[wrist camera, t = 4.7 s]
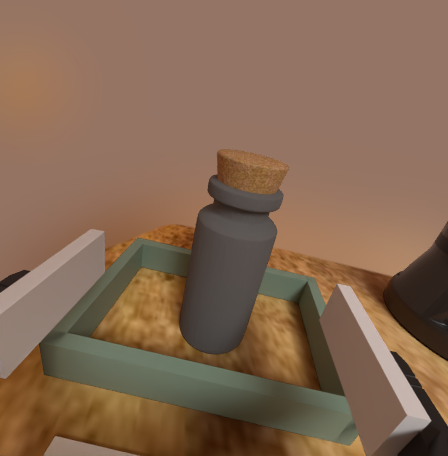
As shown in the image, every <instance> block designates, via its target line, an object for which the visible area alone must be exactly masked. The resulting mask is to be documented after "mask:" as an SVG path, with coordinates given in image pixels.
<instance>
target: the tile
mask: <svg viewBox="0 0 448 456" xmlns="http://www.w3.org/2000/svg"><path fill="white" fill-rule="evenodd" d="M43 456H138V455H134V454H130V453H126V452H121V451H117V450H113V449H109V448H104V447H100V446H96V445H92V444H87V443H83V442H79V441H74V440H70V439H66V438H62V437H57V436H55V437H54V439H53V440H52V442H51V444H50V445H49V447H48V449H47V450H46V452H45V453H44V455H43Z"/></svg>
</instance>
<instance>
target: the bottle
mask: <svg viewBox="0 0 448 456" xmlns="http://www.w3.org/2000/svg"><path fill="white" fill-rule="evenodd" d="M217 169H218V170H217V171H218V175H213V176H212V177H211V178H210V179H209V183H208V193H209V194H210V196H211V197H213V198H214V203H213V204H210V205H207V206H206V207H204V208H203V209H201V210H200V212H199V214H198V217H197V223H196V228H195V233H194V239H193V244H192V250H191V256H190V262H189V268H188V274H187V280H186V286H185V292H184V298H183V304H182V310H181V317H180V329H181V333H182V335H183V337H184V339H185V340H186V341H187V342H188V343H189V344H190V345H191V346H192V347H194V348H195V349H197V350H199V351H202V352H205V353H209V354H223V353H227V352H229V351H231V350H233V349H234V348H236V347H237V346H238V345H239V344H240V342H241V341H242V338H243V336H244V333H245V331H246V328H247V325H248V322H249V319H250V316H251V313H252V310H253V307H254V304H255V301H256V298H257V295H258V292H259V289H260V286H261V283H262V280H263V276H264V273H265V270H266V267H267V264H268V261H269V258H270V255H271V252H272V248H273V245H274V242H275V238H276V235H277V228H276V226H275V224H274V222H273V221H272V220H271V219H270V218H269V217H268V216H269V212H273V211H276V210H278V209H279V208H280V206H281V203H282V200H283V193H282V192H281V191H280V190H279V189H278V188H279V187H280V185H281V183H282V181H283V179H284V177H285V176H286V174H287V172H288V170H289V166H288V165H286V164H284V163H283V162H280V161H278V160H275V159H272V158H269V157H265V156H262V155H258V154H254V153H249V152H244V151H238V150H229V149H222V150H219V151H218V152H217Z"/></svg>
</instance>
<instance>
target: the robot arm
mask: <svg viewBox="0 0 448 456" xmlns="http://www.w3.org/2000/svg"><path fill="white" fill-rule="evenodd" d="M104 273H105V232H104V231H100V230H95V229H90V230H89V231H87V232H86V233H84V234H83V235H82V236H80V237H79V238H77V239H76V240H75V241H73V242H72V243H70V244H69V245H67V246H66V247H65V248H63V249H62V250H60V251H59V252H58V253H56V254H55V255H53V256H52V257H50V258H49V259H48V260H46V261H45V262H43V263H42V264H41V265H39V266H38V267H37V268H35V269H33V270H32V271H27V270H23V271H20V272H18V273H15V274H12V275H10V276H8V277H7V278H5V279H4V280H2V281H1V282H0V378H4V379H6V378H7V377H8V376H9V375H10V374H11V373H12V372H13V371H14V370H15V369H16V368H17V366H18V365H19V364H20V363H21V362H22V361H23V360H24V359H25V358H26V357H27V356H28V355H29V354H30V352H31V351H32V350H33V349H34V348H35V347H36V346H37V345H38V344H39V343H40V342H41V341H42V340H43V338H44V337H45V336H46V335H47V334H48V333H49V332H50V331H51V330H52V329H53V328H54V327H55V326H56V325H57V323H58V322H59V321H60V320H61V319H62V318H63V317H64V316H65V315H66V314H67V313H68V312H69V311H70V309H71V308H72V307H73V306H74V305H75V304H76V303H77V302H78V301H79V300H80V299H81V298H82V297H83V295H84V294H85V293H86V292H87V291H88V290H89V289H90V288H91V287H92V286H93V285H94V284H95V283H96V281H97V280H98V279H99V278H100V277H101V276H102V275H103V274H104ZM383 296H384V300H385V303H386V305H387V307H388V308H389V310H390V311H391V313H392V314H393V315H394V316H395V318H396V319H397V320H398V321H399V322H400V323H401V324H402V325H403V326H404V327H405V328H406V329H407V330H408V331H409V332H410V333H412V334H413V335H414V336H415V337H416V338H418V339H419V340H420V341H421V342H423V343H424V344H425V345H427V346H428V347H429V348H431V349H432V350H434V351H435V352H436V353H438V354H439V355H441V356H443V357H444V358H446V359H447V360H448V222H447V223H446V225H445V226H444V228H443V229H442V231H441V233H440V234H439V236H438V237H437V239H436V240H435V242H434V243H433V245H432V246H431V247H430V249H428V250H427V251H426V252H425V253H424V254H422V255H421V256H420V257H419V258H417V259H416V260H415V261H414V262H413V263H411V264H410V265H409V266H408V267H407V268H406V269H405V270H404V271H401V272H399V273H397V274H396V275H394V276H393V277H392V279H391V280H390V282H389V283H388V285H387V287H386V288H385V290H384V293H383ZM319 321H320V324H321V327H322V330H323V333H324V336H325V338H326V341H327V344H328V347H329V350H330V353H331V356H332V359H333V361H334V364H335V367H336V370H337V373H338V376H339V379H340V382H341V385H342V387H343V390H344V393H345V396H346V399H347V402H348V405H349V408H350V410H351V413H352V416H353V419H354V422H355V425H356V428H357V431H358V433H359V436H360V439H361V442H362V445H363V448H364V451H365V454H366V456H448V426H447V424H446V423H445V421H444V420H443V418H442V417H441V415H440V414H439V412H438V411H437V409H436V407H435V406H434V404H433V403H432V401H431V400H430V398H429V397H428V395H427V393H426V392H425V390H424V389H422V386H421V384H420V383H419V381H418V379H416V378H415V375H414V373H413V372H412V370H411V369H410V367H409V366H408V364H407V363H406V362H405V361H404V360H403V359H402V358H401V357H400V356H399V355H398V354H397V353H396V352H393V351H389V349H388V348H387V346H386V344H385V343H384V341H383V339H382V338H381V336H380V335H379V333H378V331H377V330H376V328H375V326H374V325H373V323H372V321H371V320H370V318H369V316H368V315H367V313H366V311H365V310H364V308H363V306H362V305H361V303H360V301H359V300H358V298H357V296H356V295H355V293H354V291H353V290H352V288H351V286H346V285H342V284H336V287H335V289H334V291H333V293H332V295H331V297H330V299H329V301H328V303H327V305H326V307H325V309H324V311H323V313H322V315H321V317H320V319H319Z"/></svg>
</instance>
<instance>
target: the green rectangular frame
mask: <svg viewBox="0 0 448 456" xmlns="http://www.w3.org/2000/svg"><path fill="white" fill-rule="evenodd" d="M190 256H191V250H190V249H186V248H181V247H177V246H172V245H168V244H164V243H159V242H155V241H151V240H146V239H142V238H137V239H136V240H135V241H134V242H133V243H132V244H131V245H130V246H129V247H128V248H127V249H126V250H125V252H124V253H123V254H122V255H121V256H120V257H119V258H118V259H117V260H116V261H115V262H114V263H113V264H112V265H111V266H110V267H109V268H108V270H107V271H106V272H105V273H104V274H103V275H102V276H101V277H100V278H99V279H98V280H97V281H96V283H95V284H94V285H93V286H92V287H91V288H90V289H89V290H88V291H87V292H86V293H85V294H84V295H83V297H82V298H81V299H80V300H79V301H78V302H77V303H76V304H75V305H74V306H73V307H72V308H71V309H70V311H69V312H68V313H67V314H66V315H65V316H64V317H63V318H62V319H61V320H60V321H59V322H58V323H57V325H56V326H55V327H54V328H53V329H52V330H51V331H50V332H49V333H48V334H47V335H46V336H45V337H44V338H43V340H42V341H41V342H40V343H39V346H40V352H41V358H42V364H43V371H44V375H48V376H52V377H56V378H61V379H65V380H69V381H74V382H78V383H82V384H87V385H91V386H95V387H99V388H104V389H108V390H112V391H117V392H121V393H125V394H130V395H134V396H138V397H142V398H147V399H151V400H155V401H160V402H164V403H168V404H173V405H177V406H181V407H186V408H190V409H194V410H198V411H203V412H207V413H211V414H216V415H220V416H224V417H229V418H233V419H237V420H241V421H246V422H250V423H254V424H259V425H263V426H267V427H272V428H276V429H280V430H284V431H289V432H293V433H297V434H302V435H306V436H310V437H315V438H319V439H323V440H327V441H332V442H336V443H340V444H345V445H349V446H350V445H351V444H352V443H353V441H354V440H355V439H356V437H357V436H358V435H359V433H358V431H357V428H356V425H355V422H354V419H353V416H352V413H351V410H350V408H349V405H348V402H347V399H346V396H345V393H344V390H343V387H342V385H341V382H340V379H339V376H338V373H337V370H336V367H335V364H334V361H333V359H332V356H331V353H330V350H329V347H328V344H327V341H326V338H325V336H324V333H323V330H322V327H321V324H320V321H319V319H320V317H321V315H322V313H323V311H324V309H325V307H326V305H325V303H324V300H323V298H322V295H321V293H320V290H319V288H318V285H317V283H316V280H315V278H313V277H308V276H304V275H300V274H295V273H291V272H287V271H282V270H278V269H273V268H269V267H266V270H265V273H264V276H263V280H262V283H261V286H260V289H259V292H258V294H262V295H267V296H271V297H275V298H280V299H284V300H288V301H293V302H297V303H299V307H300V311H301V315H302V318H303V322H304V326H305V330H306V334H307V338H308V342H309V345H310V349H311V353H312V357H313V361H314V365H315V369H316V372H317V376H318V380H319V384H320V388H321V391H318V390H313V389H309V388H305V387H300V386H296V385H292V384H287V383H283V382H279V381H274V380H270V379H266V378H262V377H257V376H253V375H249V374H244V373H240V372H236V371H231V370H227V369H223V368H218V367H214V366H210V365H205V364H201V363H197V362H192V361H188V360H184V359H179V358H175V357H171V356H166V355H162V354H158V353H153V352H149V351H145V350H140V349H136V348H132V347H127V346H123V345H119V344H114V343H110V342H106V341H101V340H97V339H93V338H89V337H90V336H91V334H92V333H93V332H94V330H95V329H96V328H97V326H98V325H99V324H100V322H101V321H102V320H103V318H104V317H105V315H106V314H107V313H108V311H109V310H110V309H111V307H112V306H113V305H114V303H115V302H116V300H117V299H118V298H119V296H120V295H121V294H122V292H123V291H124V290H125V288H126V287H127V286H128V284H129V283H130V281H131V280H132V279H133V277H134V276H135V275H136V273H137V272H138V271H139V269H140V268H141V267H144V268H148V269H153V270H157V271H162V272H166V273H170V274H175V275H179V276H183V277H187V274H188V268H189V262H190Z"/></svg>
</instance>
